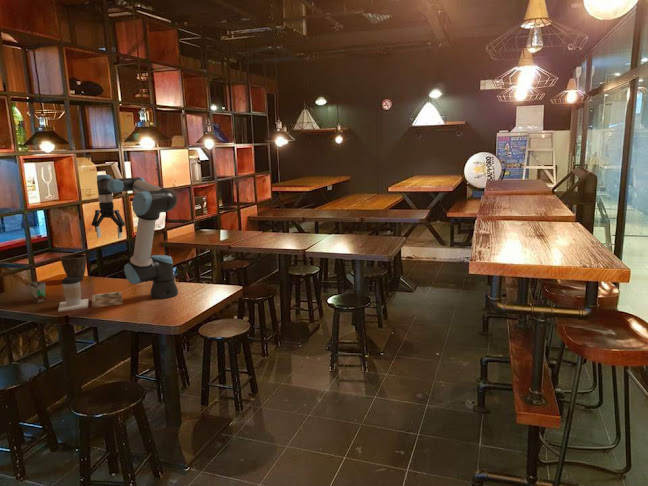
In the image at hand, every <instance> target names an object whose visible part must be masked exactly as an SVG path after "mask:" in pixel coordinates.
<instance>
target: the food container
mask: <svg viewBox="0 0 648 486" xmlns="http://www.w3.org/2000/svg"><path fill="white" fill-rule="evenodd" d="M29 287H30V293H31V298H32V301H33V300H34V301H33V302H35V303H37V304H42V303H45V302H46V301H45V300H46V288H47V285H46V283H45V281H32V282H29ZM41 302H42V303H41Z"/></svg>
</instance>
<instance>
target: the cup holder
mask: <svg viewBox="0 0 648 486" xmlns="http://www.w3.org/2000/svg"><path fill="white" fill-rule="evenodd" d="M123 304H124V303H123V296H122V291H114V292H107V293H106V292H105V293H98V294H92V295H91V308H93V309H94V308H102V307H109V306H117V305H118V306H119V305H123Z"/></svg>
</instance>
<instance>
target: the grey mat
mask: <svg viewBox="0 0 648 486" xmlns="http://www.w3.org/2000/svg"><path fill="white" fill-rule="evenodd" d="M88 308H89V298H84V299H81V304H79V305H76V306H67V304H66V301H61V302H59V305H58V310H57V311H58V312H66V311H72V310H73V311H74V310H83V309H88Z"/></svg>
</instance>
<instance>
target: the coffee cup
mask: <svg viewBox="0 0 648 486" xmlns="http://www.w3.org/2000/svg"><path fill="white" fill-rule="evenodd" d="M81 282H82V281H81V280H80V278H78V277H77V276H71V277H67V276H66V277H64V278H63V279H62V280H61V285H62V291H63V295H64V299H65V302H66V304H67V306H76V305H79V304H81V300H82V299H81V297H82V290H81V289H82V288H81V287H82V286H81Z"/></svg>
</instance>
